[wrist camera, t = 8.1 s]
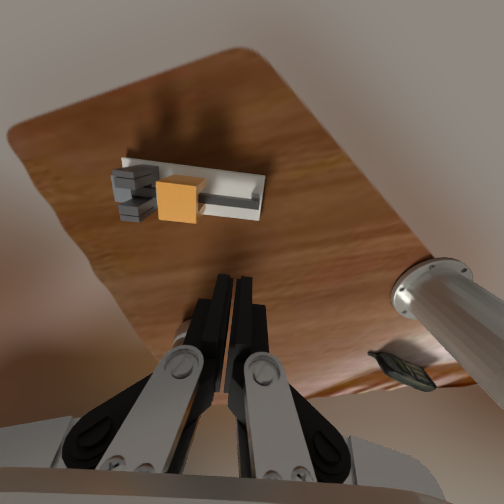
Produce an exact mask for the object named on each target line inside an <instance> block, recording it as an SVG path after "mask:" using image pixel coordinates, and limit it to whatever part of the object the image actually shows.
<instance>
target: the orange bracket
mask: <svg viewBox="0 0 504 504" xmlns="http://www.w3.org/2000/svg"><path fill="white" fill-rule="evenodd" d="M205 187H206V178H199V177H191V176H183V175H176V174H173V175H171V176H168V177H166V178H163V179H161V180H158V181H156V189H157V201H158V213H159V219H160V220H168V221H177V222H186V223H195V224H196V223H197V222H198V220H199V219H200V217H201V216H202V214H203V213H204V211H205V210H206V204H204V203H198V194H199V193H200V192H201V191H202V190H203V189H204V188H205Z"/></svg>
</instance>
